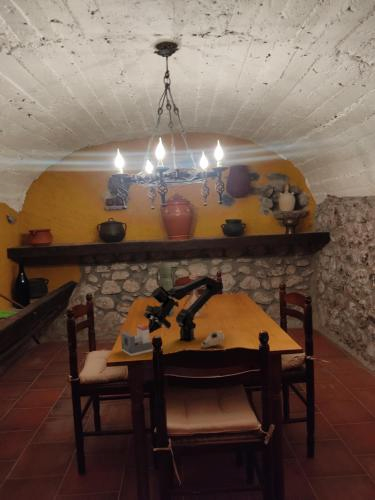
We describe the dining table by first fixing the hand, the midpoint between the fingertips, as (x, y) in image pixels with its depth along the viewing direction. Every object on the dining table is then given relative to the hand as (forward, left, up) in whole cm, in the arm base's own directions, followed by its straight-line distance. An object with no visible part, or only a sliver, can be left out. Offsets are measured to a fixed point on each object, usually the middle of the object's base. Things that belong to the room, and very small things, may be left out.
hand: (146, 333), depth 203 cm
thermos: (+30, -62, -7) cm, 69 cm away
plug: (+2, +4, -6) cm, 8 cm away
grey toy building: (+2, +4, -6) cm, 8 cm away
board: (+2, +5, -7) cm, 9 cm away
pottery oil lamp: (-27, -17, -8) cm, 33 cm away
